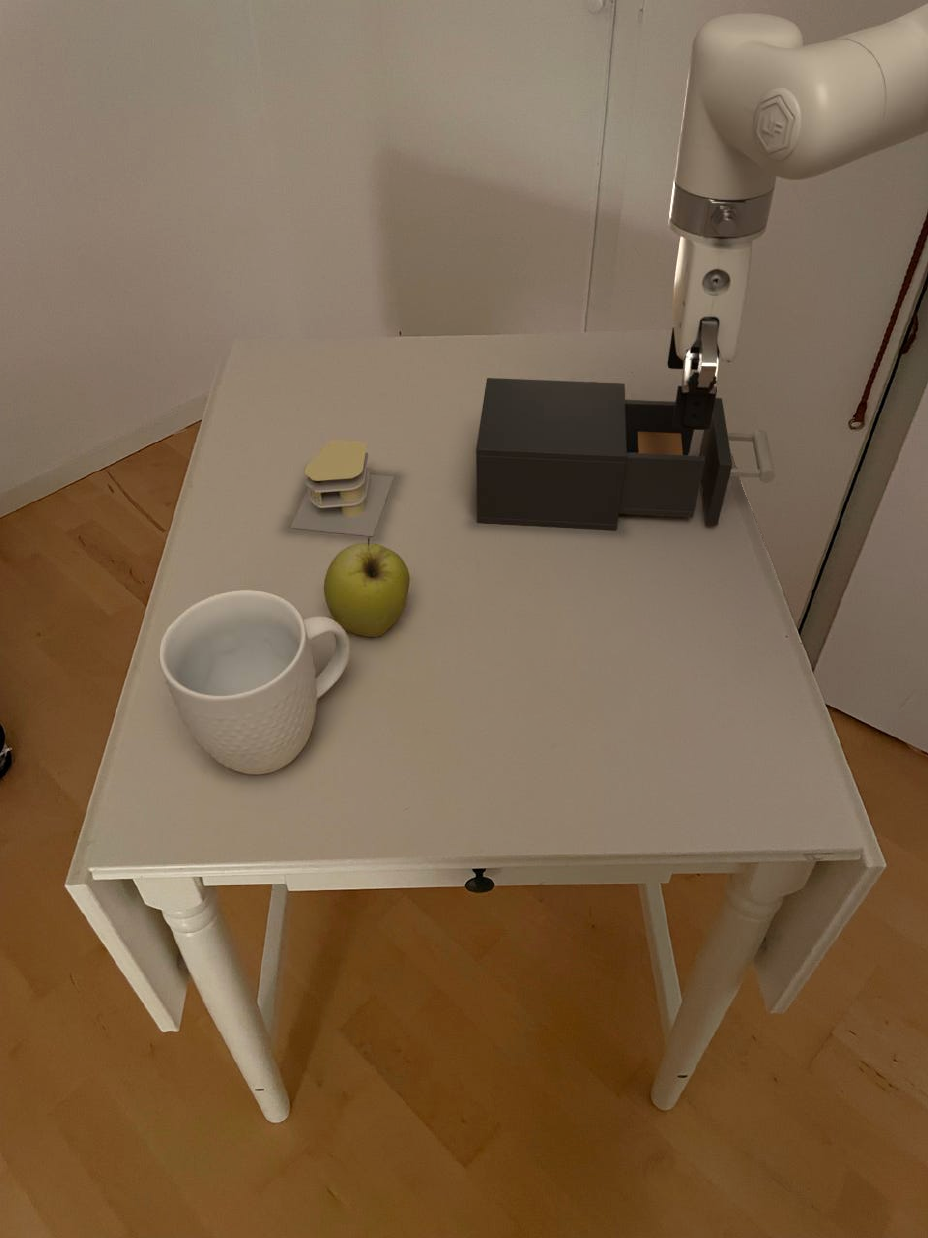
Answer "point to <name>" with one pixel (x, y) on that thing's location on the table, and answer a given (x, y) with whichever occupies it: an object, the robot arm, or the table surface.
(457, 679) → the table surface
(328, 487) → the stacked layers on plate
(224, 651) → the mug
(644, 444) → the block
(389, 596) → the apple
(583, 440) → the dark grey box
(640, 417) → the drawer
